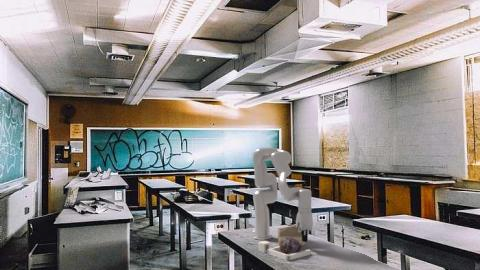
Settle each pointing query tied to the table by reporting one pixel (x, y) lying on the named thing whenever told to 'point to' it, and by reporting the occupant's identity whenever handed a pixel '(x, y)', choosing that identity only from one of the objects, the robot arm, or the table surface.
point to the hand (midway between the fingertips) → (304, 241)
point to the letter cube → (263, 246)
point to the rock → (290, 246)
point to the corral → (277, 253)
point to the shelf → (289, 234)
